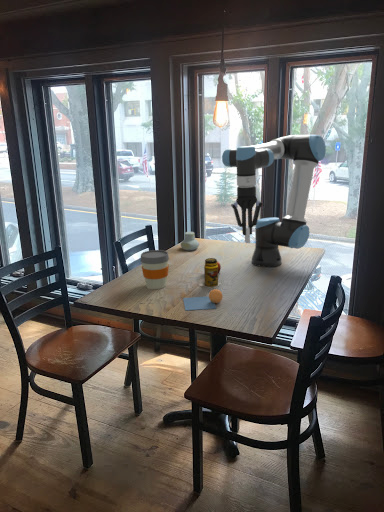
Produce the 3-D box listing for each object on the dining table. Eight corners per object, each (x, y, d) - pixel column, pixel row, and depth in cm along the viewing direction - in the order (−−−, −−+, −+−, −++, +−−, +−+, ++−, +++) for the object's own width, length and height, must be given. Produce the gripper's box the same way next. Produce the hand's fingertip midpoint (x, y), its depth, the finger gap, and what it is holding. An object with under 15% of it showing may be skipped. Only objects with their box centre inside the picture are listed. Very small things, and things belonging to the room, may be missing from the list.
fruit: (223, 274, 188) (214, 260, 186) (209, 282, 190) (200, 268, 189) (225, 269, 195) (217, 255, 194) (212, 276, 198) (203, 263, 197)
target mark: (211, 296, 167) (211, 296, 167) (216, 308, 156) (216, 308, 155) (183, 298, 166) (183, 298, 166) (185, 310, 155) (185, 310, 155)
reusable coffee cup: (137, 285, 182) (134, 253, 178) (159, 278, 190) (157, 248, 185) (152, 293, 173) (150, 259, 169) (175, 285, 181) (174, 253, 176)
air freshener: (178, 249, 236) (177, 233, 233) (186, 246, 243) (186, 230, 240) (193, 252, 230) (193, 235, 227) (201, 248, 236) (201, 232, 233)
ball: (210, 301, 164) (223, 297, 164) (211, 306, 159) (225, 302, 158) (206, 289, 162) (219, 285, 162) (207, 294, 157) (220, 290, 157)
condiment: (214, 288, 175) (214, 262, 172) (197, 285, 179) (197, 260, 176) (221, 283, 181) (221, 258, 178) (205, 280, 185) (204, 255, 182)
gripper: (232, 188, 157) (234, 246, 164) (264, 186, 158) (265, 243, 166) (228, 185, 164) (230, 241, 172) (259, 183, 165) (260, 238, 173)
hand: (247, 242), depth 169 cm, fingers closed
